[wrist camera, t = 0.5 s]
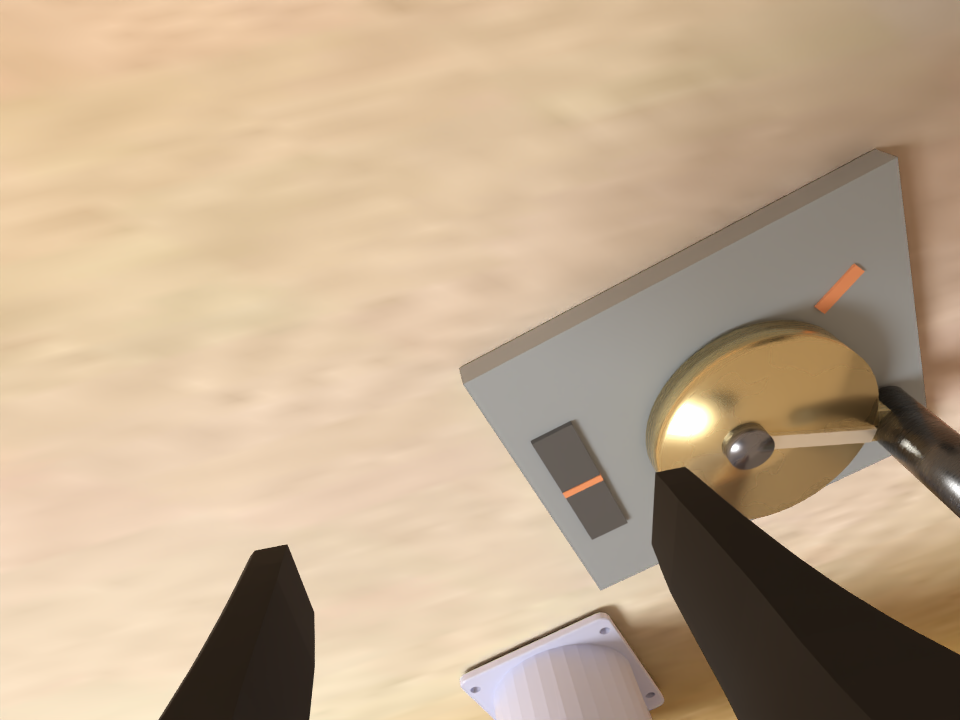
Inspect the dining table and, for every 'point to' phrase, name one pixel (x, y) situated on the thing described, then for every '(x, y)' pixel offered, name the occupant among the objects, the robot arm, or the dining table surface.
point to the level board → (696, 349)
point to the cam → (790, 419)
